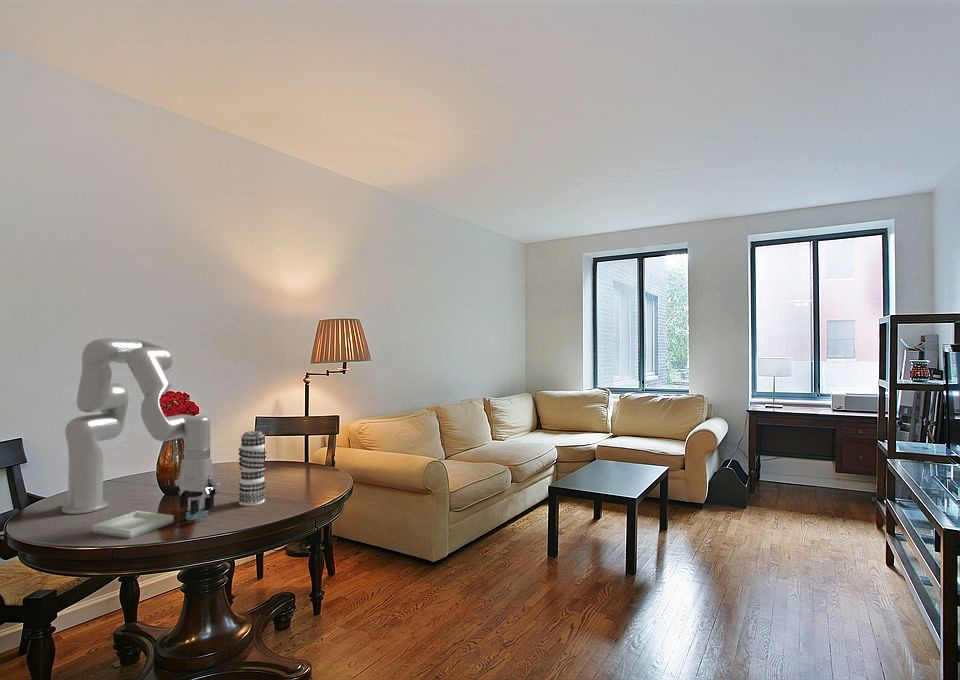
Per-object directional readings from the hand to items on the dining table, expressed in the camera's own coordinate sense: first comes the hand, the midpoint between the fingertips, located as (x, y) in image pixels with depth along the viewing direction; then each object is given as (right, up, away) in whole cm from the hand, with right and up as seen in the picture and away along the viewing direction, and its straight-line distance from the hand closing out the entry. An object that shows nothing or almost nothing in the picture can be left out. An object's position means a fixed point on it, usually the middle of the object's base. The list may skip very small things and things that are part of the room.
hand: (197, 507), depth 175 cm
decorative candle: (+10, -4, +18) cm, 21 cm away
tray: (-15, -3, -9) cm, 17 cm away
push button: (0, -4, 0) cm, 4 cm away
